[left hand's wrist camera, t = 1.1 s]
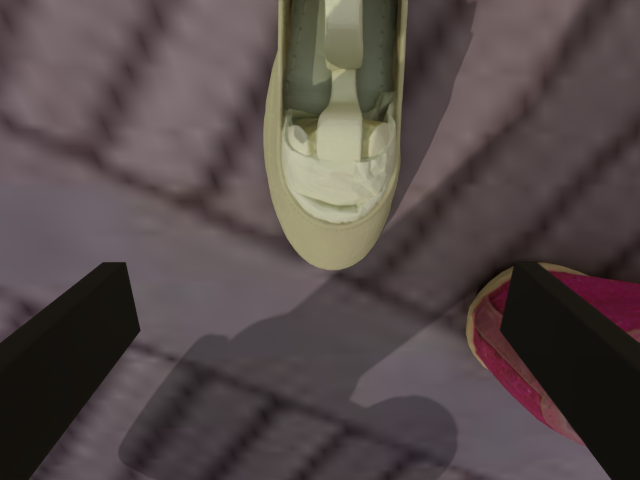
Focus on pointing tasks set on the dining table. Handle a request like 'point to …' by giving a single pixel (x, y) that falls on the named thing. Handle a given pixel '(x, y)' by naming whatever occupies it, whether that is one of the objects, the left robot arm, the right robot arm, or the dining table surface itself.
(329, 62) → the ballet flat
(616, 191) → the dining table surface
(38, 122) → the dining table surface
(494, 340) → the shoe
